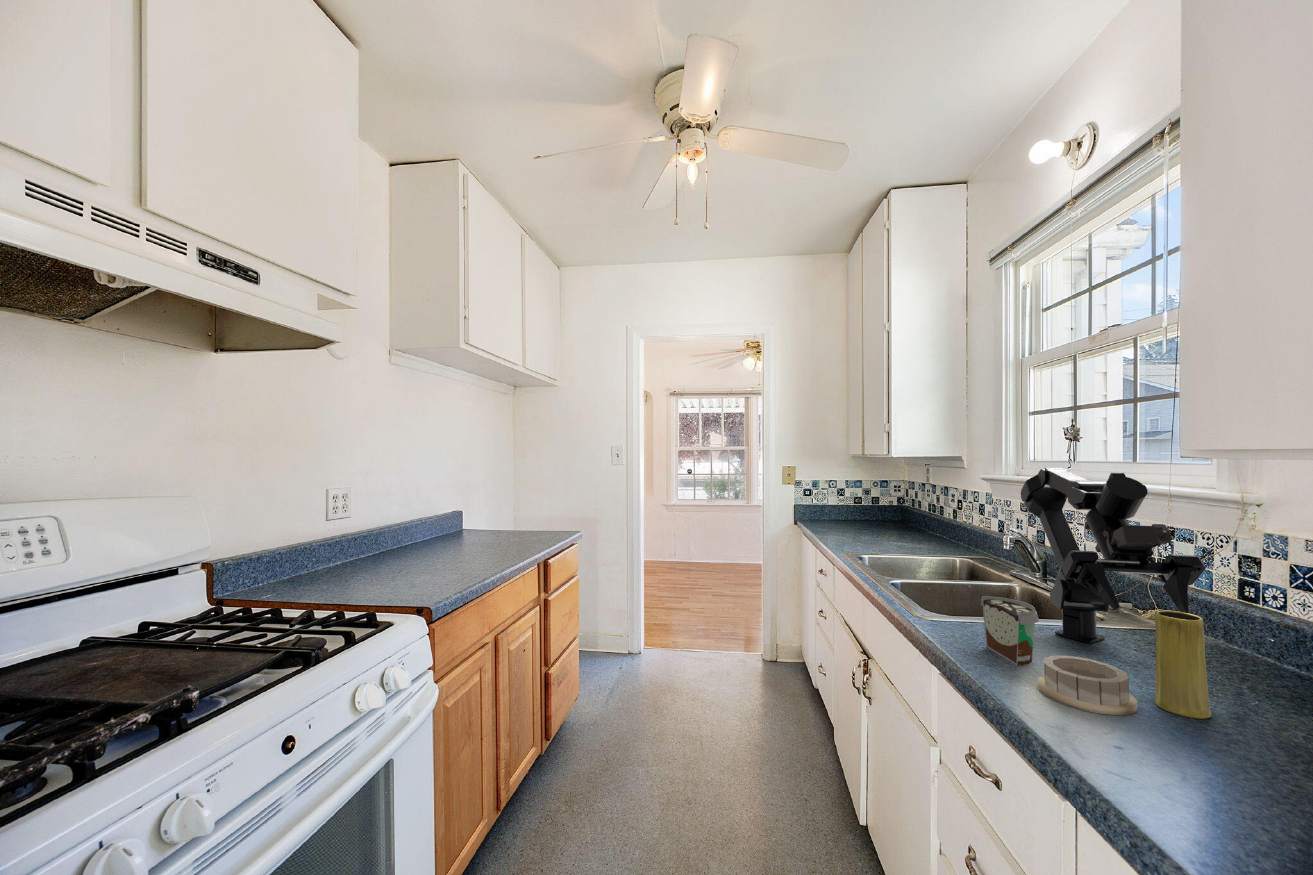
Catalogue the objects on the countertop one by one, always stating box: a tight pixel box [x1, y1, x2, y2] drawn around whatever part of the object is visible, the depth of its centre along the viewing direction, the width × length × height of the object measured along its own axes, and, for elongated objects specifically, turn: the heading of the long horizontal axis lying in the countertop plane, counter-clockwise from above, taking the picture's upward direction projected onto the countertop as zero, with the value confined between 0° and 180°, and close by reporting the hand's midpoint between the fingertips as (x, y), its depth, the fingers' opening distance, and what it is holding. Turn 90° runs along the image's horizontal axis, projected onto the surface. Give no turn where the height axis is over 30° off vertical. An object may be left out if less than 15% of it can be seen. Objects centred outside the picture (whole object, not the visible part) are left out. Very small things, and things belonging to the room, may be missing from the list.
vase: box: [1154, 610, 1212, 720], centre depth 80 cm, size 6×6×14 cm
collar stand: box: [1037, 655, 1138, 716], centre depth 84 cm, size 12×12×4 cm
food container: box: [980, 595, 1040, 666], centre depth 101 cm, size 12×6×10 cm, turn 179°
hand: (1151, 610), depth 87 cm, fingers open, 9 cm apart
